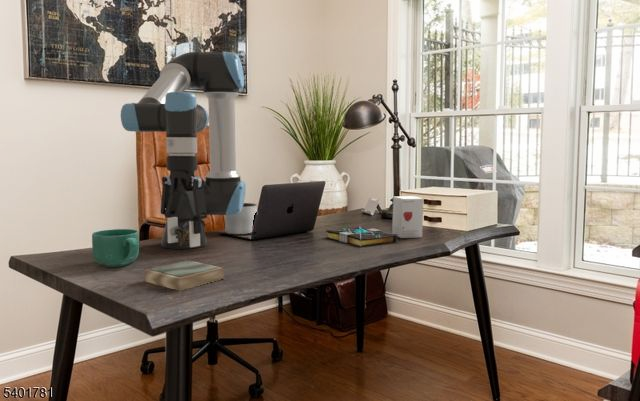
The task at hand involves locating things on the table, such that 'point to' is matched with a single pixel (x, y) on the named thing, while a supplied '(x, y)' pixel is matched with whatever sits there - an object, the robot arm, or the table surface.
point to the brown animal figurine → (184, 231)
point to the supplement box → (407, 216)
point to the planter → (241, 220)
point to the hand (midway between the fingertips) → (183, 244)
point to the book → (361, 236)
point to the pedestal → (184, 275)
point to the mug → (115, 247)
